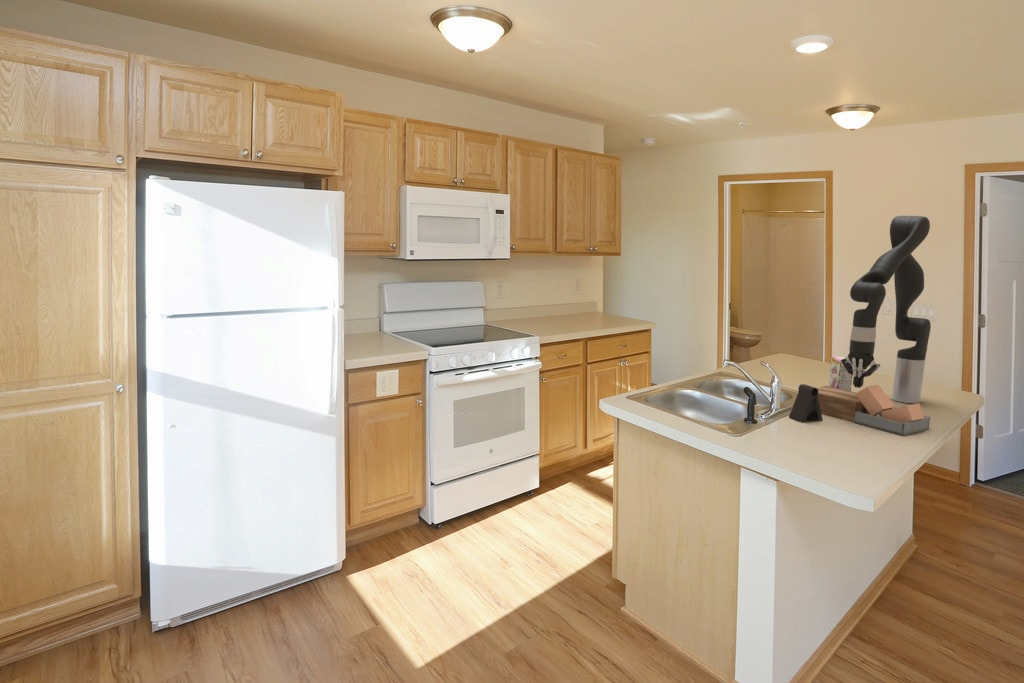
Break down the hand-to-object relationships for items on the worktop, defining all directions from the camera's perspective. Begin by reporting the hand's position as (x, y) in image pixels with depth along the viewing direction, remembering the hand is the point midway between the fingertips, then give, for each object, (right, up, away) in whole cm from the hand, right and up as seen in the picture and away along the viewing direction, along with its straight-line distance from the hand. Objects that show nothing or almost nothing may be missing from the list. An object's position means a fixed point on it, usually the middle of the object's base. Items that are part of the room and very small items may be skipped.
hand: (857, 387), depth 206 cm
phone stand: (-20, -11, -2) cm, 23 cm away
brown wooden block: (-3, -10, +7) cm, 12 cm away
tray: (+6, -12, -9) cm, 16 cm away
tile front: (+7, -6, -12) cm, 15 cm away
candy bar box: (+7, -7, +25) cm, 27 cm away
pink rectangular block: (+2, -6, -4) cm, 7 cm away
